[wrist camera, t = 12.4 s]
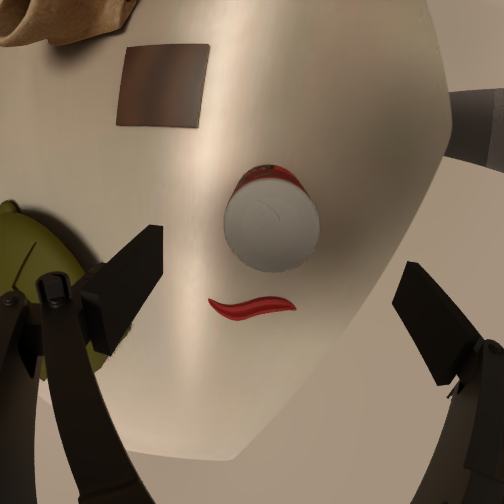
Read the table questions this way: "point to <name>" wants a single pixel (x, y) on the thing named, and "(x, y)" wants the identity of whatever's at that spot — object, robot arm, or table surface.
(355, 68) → the table surface
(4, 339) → the robot arm
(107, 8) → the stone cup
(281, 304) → the cayenne pepper
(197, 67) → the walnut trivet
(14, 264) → the spaceship
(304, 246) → the canned food
